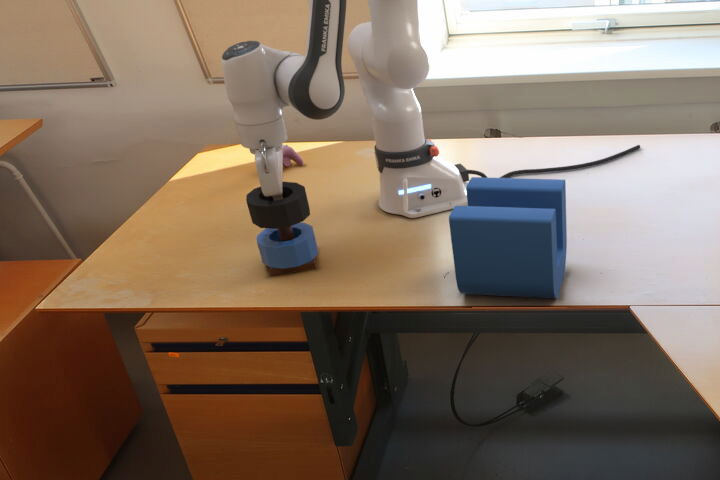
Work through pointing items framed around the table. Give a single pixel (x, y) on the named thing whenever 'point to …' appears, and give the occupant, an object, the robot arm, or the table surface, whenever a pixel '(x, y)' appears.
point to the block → (510, 237)
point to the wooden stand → (287, 235)
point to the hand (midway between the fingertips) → (279, 199)
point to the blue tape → (287, 247)
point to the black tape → (278, 207)
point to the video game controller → (290, 156)
